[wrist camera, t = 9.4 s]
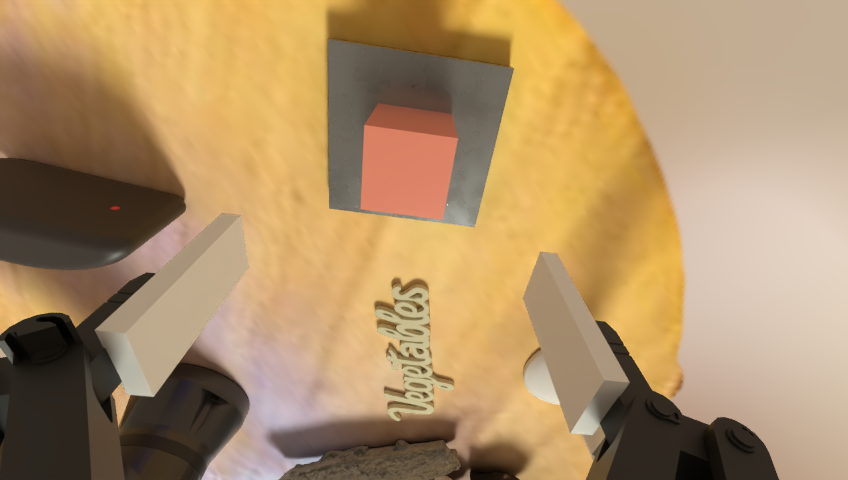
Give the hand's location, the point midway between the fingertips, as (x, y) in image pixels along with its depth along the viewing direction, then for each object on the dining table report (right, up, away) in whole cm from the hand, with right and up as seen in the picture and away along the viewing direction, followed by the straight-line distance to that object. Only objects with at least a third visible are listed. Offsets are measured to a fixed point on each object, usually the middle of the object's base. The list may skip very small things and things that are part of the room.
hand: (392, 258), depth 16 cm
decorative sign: (0, -15, +31) cm, 35 cm away
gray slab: (0, +10, +15) cm, 18 cm away
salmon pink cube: (0, +9, +14) cm, 17 cm away
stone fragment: (-8, -34, +43) cm, 56 cm away
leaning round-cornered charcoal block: (-29, +7, +18) cm, 35 cm away
